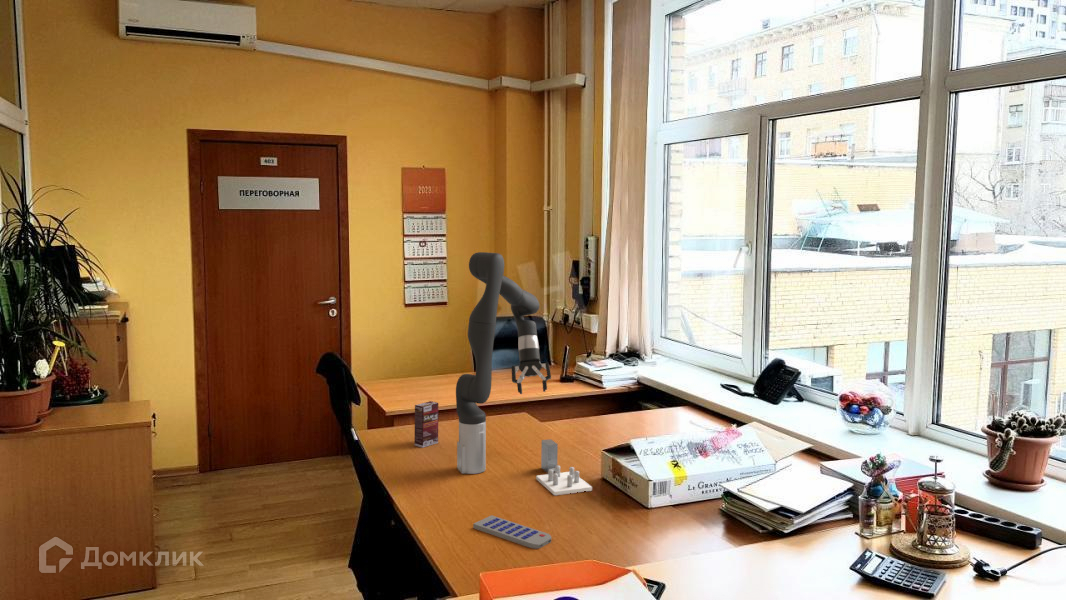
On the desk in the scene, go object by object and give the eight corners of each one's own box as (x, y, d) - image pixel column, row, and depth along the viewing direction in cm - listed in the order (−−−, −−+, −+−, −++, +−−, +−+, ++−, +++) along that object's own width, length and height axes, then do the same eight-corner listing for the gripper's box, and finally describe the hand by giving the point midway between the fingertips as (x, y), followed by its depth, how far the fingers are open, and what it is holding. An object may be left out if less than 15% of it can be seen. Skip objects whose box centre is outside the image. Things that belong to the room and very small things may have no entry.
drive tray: (554, 495, 245) (554, 481, 244) (536, 479, 259) (536, 465, 259) (592, 490, 249) (592, 476, 249) (571, 474, 264) (572, 461, 263)
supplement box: (423, 448, 292) (422, 406, 290) (414, 445, 295) (413, 404, 293) (439, 442, 299) (439, 402, 297) (430, 440, 302) (430, 400, 300)
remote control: (491, 521, 225) (491, 514, 225) (554, 541, 211) (554, 534, 211) (473, 530, 219) (473, 522, 219) (536, 551, 205) (536, 543, 205)
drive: (548, 473, 265) (548, 445, 264) (541, 468, 271) (541, 440, 270) (557, 472, 266) (557, 444, 265) (550, 467, 272) (550, 439, 271)
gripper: (508, 349, 283) (512, 393, 279) (547, 345, 282) (551, 389, 278) (510, 352, 291) (514, 396, 287) (548, 348, 290) (552, 392, 286)
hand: (532, 392), depth 282 cm, fingers open, 8 cm apart
